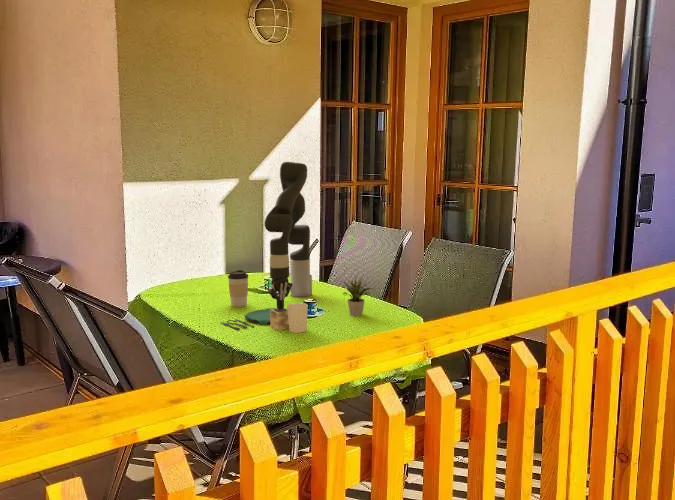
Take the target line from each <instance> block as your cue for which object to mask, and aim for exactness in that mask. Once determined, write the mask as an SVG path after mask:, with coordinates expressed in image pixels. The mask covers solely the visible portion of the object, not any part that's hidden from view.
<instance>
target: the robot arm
mask: <svg viewBox="0 0 675 500" xmlns="http://www.w3.org/2000/svg"><path fill="white" fill-rule="evenodd" d="M307 177H308V167H307V165H306V164H305V163H302V162H293V161H283V162H282V163H281V164H280V168H279V179H280V184H281V188H282V191H281V192H280V194H279V195H278V197H277V199H276V202H275V205H274V207H272V209H271V210H270V211H269V212H268V213H267V215H266V216H265V219H264V228H265V230H266V231H267V232H269V233H281V235H280V237H275V238H271V239H270V241H269V255H270V256H269V277H270V278H271V282H270V283H271V284H270V285H271V286H270V287H267V292H268V293H269V295H270V296H271V298H272V299H273V300H275V301H276V308H277V309H284V308H285V299H286V298H288V297H289V294H290V296H291V297H295V298H296V297H298V298H302V297H303V298H305V297H308V296H309V297H310V296H311V295H312V296H313V277H312V274H311V261H310V260H311V256H310V255H311V254H310V252H311V251H310V249H311V248H310V247H311V246H310V244H311V243H310V242H311V241H310V240H311V229H310V226H309V225H308V224H297V223H298V222H299V221H300V220H301V219H302V218H303V216H304V215H305V212H306V201H305V197H304V196H303V194H302V193H301V192H302V189H303V187H304V186H305V183H306V182H307ZM289 245H292V246H293V245H296V246H298V245H299V246H301V245H302V247H300V248H299V249H297V250H294V251H292V252H291V253H289ZM289 278H290V281H289Z"/></svg>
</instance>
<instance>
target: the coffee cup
mask: <svg viewBox="0 0 675 500" xmlns="http://www.w3.org/2000/svg"><path fill="white" fill-rule="evenodd" d="M227 279H228V289H229V297H230V306H232V307H244V306H247V305H248V296H249V295H248V292H249V274H248V273H247V272H246V271H244V270H243V269H242V270H241V269H238V270H236V271H230V273H229V274H228V275H227Z"/></svg>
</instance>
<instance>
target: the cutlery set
mask: <svg viewBox="0 0 675 500" xmlns="http://www.w3.org/2000/svg"><path fill="white" fill-rule="evenodd" d="M275 308H276V307H268V308H264V309H258V310H254V311H249V312H247V313H246V314H245V315H244V318H245V319H246V320H248V321H250V322H255V323H259V324H260V325H263V326H264V325H267V324H268V323H270V310H272V309H275ZM229 321H233V322H229ZM238 321H239V323H237V322H238ZM235 322H236V323H235ZM229 323H230V324H229ZM220 324H221V325H223V326H226V325H227V327H229V328H231V329H234V330H236V331H240V327H242V328H244V329H248V326H249V327H252V328H255V325H251V324H250V323H248V322H246V321H243V320H240V319H238V318H235V319H234V320H233V319H229V320H227V321H226V322H224V321H222V322H220ZM233 325H237V326H240V327H237V326H233ZM247 325H248V326H247Z"/></svg>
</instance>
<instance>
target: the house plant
mask: <svg viewBox="0 0 675 500" xmlns="http://www.w3.org/2000/svg"><path fill="white" fill-rule="evenodd" d="M363 280H364V278H360V279H359V280H358V282H357V277H355V278H354V282H353V281H352V280H350V279H349V282H350V285H351V286H350V285H349V284H348V282H347V281H341V283H343V284H344V285H345V286H346V287H347V288H346V291H348V292H343V293H342V295H343V297H344V296H346V295H348V296H349V297H350V298H348V299H347V304H348V309H349V315H350V317H351V316H352V317H360V316H363V311H364V307H365V299H364V298H362V297H364V296H370V295H372V293H371V292H370V290H373V289H374V288H373V287H372V288H371V287H366V286H367V285H368V284H369V283H371V280H370V281H367V282H366V283H365V284H362V283H363ZM364 287H366V288H364Z"/></svg>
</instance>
